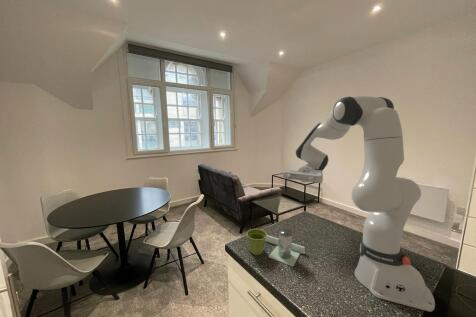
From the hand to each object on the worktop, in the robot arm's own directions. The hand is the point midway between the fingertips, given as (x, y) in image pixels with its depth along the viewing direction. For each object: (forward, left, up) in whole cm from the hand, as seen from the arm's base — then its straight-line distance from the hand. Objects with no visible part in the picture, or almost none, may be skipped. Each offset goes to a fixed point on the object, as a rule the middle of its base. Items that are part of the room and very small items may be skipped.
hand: (298, 179), depth 96 cm
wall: (+3, +10, -32) cm, 34 cm away
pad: (0, +16, -32) cm, 36 cm away
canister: (0, +16, -31) cm, 35 cm away
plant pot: (+12, +20, -32) cm, 40 cm away
